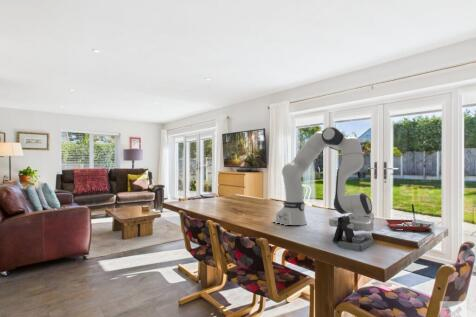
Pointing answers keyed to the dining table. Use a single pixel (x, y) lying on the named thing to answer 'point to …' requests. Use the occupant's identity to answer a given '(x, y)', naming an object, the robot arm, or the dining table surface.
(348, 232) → the black a-shaped stand
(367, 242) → the tray
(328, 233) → the dining table surface
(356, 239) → the grey cube
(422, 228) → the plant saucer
